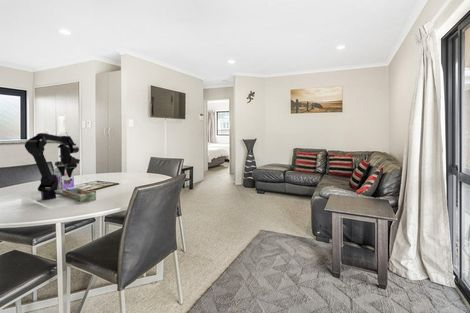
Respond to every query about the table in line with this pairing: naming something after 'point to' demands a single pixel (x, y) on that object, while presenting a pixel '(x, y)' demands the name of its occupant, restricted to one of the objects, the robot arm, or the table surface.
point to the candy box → (63, 179)
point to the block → (72, 190)
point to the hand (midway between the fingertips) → (66, 176)
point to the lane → (81, 195)
